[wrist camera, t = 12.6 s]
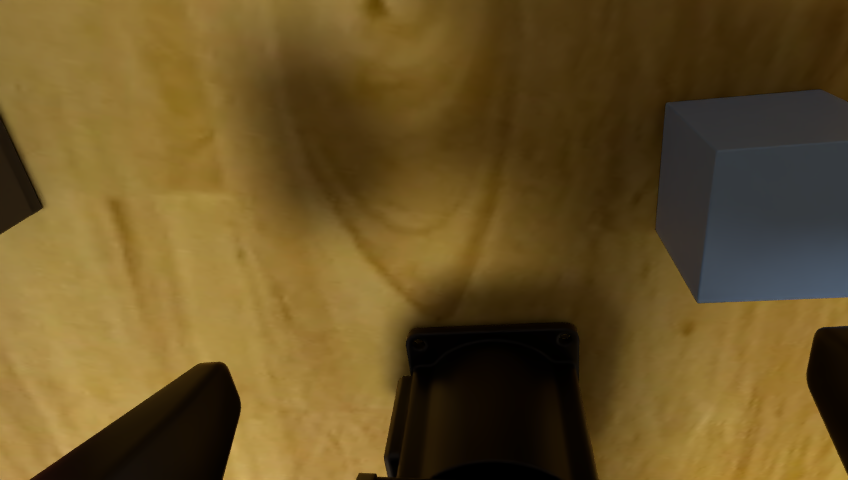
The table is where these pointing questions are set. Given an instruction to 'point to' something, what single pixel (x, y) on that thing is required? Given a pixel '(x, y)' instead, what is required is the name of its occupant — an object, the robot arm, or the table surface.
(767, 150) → the blue block
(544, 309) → the table surface
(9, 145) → the tray
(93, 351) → the table surface
